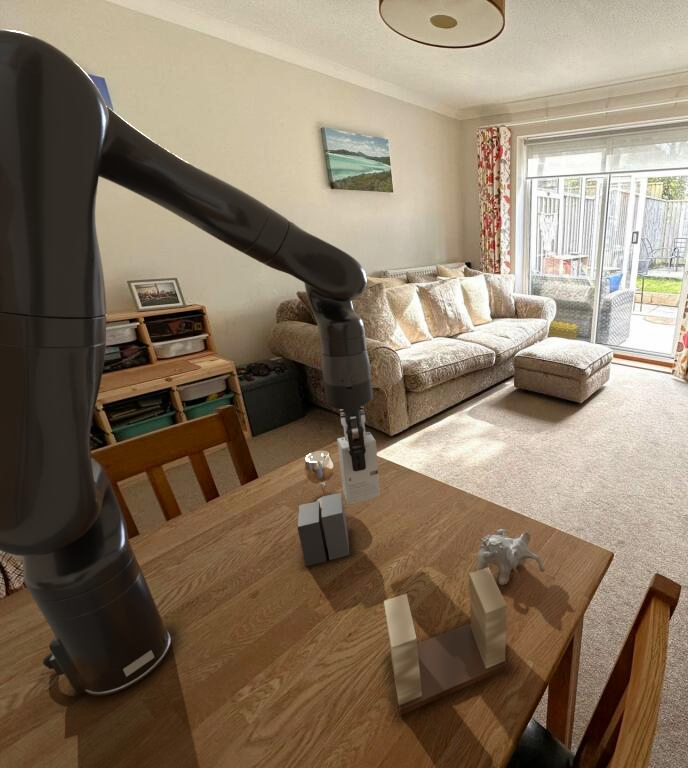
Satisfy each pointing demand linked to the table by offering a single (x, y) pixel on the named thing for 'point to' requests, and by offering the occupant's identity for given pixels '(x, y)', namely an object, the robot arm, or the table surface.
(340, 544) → the grey books
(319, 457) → the wineglass
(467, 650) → the book board
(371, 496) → the cosmetic box
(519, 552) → the gray elephant figurine
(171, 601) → the table surface
